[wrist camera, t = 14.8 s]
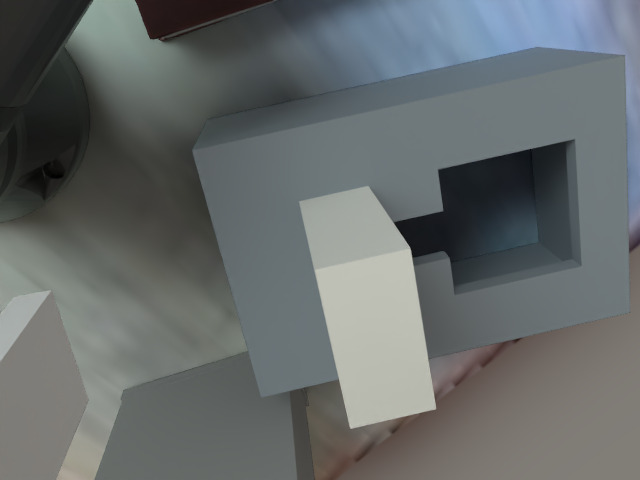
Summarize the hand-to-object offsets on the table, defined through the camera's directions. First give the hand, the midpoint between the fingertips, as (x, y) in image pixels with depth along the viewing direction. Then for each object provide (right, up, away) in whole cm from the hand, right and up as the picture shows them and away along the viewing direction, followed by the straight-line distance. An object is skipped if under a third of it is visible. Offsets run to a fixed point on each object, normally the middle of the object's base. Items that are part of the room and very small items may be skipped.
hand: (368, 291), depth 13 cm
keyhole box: (+4, +5, +33) cm, 33 cm away
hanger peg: (0, +2, +28) cm, 28 cm away
